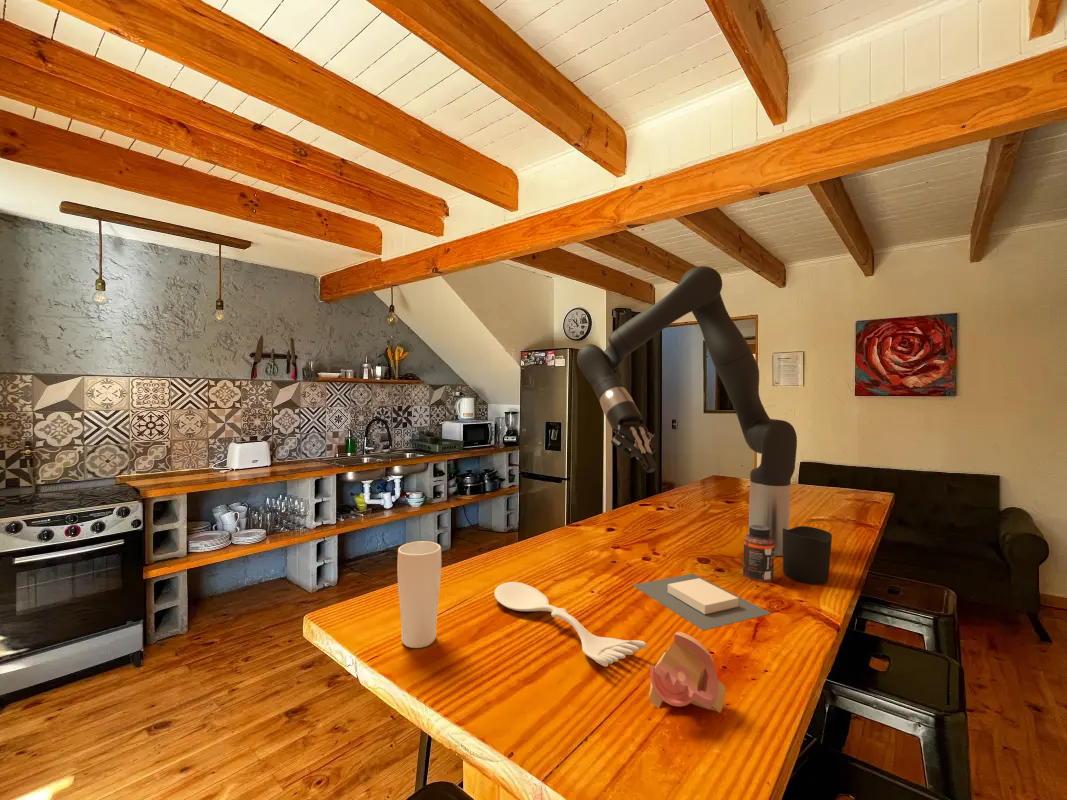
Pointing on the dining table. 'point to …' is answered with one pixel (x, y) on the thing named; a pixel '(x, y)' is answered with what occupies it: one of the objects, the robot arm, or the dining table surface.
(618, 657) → the spoon
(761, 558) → the supplement bottle
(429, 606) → the drinking glass
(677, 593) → the tile
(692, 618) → the mat
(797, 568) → the pen holder
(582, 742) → the dining table surface
